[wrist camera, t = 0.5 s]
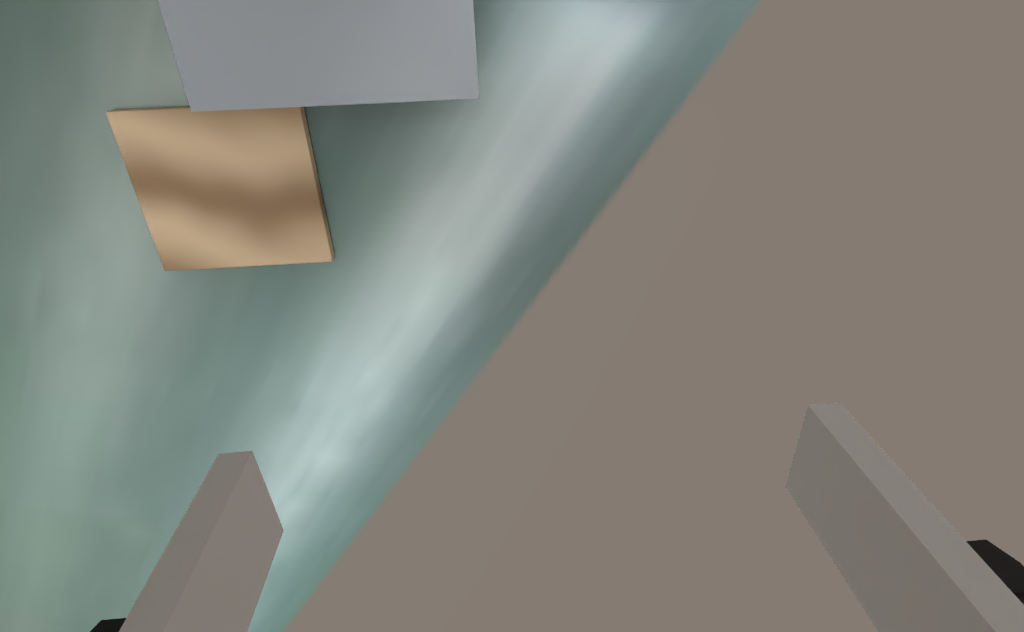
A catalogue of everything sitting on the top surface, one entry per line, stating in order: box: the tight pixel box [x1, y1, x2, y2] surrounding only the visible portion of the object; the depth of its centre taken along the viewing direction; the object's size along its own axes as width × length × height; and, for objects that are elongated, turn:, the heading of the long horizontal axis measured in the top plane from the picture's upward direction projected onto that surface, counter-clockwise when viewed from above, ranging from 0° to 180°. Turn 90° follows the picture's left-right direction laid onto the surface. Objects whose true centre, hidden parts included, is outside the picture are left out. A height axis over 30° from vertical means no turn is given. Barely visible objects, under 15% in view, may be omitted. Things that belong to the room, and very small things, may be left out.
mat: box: [106, 106, 335, 271], centre depth 34 cm, size 10×11×1 cm
